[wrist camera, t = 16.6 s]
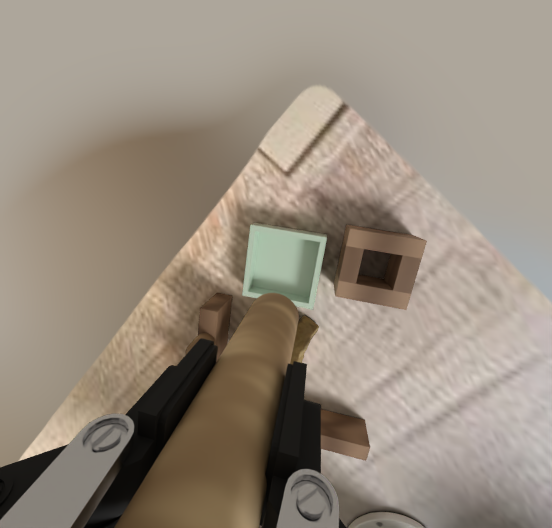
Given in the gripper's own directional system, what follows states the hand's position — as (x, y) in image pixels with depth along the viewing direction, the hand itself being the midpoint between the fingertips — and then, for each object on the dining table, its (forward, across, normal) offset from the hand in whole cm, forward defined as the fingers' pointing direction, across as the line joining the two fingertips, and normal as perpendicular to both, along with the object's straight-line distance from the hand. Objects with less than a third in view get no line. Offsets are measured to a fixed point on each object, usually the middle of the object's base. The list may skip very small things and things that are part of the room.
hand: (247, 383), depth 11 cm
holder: (+21, -8, -2) cm, 23 cm away
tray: (+21, +1, 0) cm, 21 cm away
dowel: (+6, 0, 0) cm, 6 cm away
